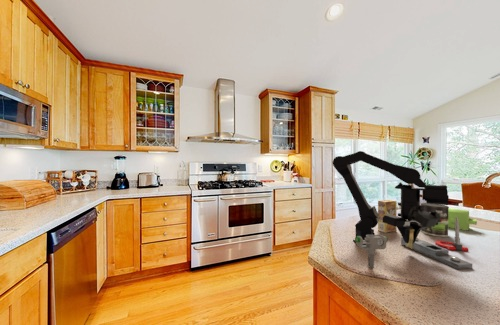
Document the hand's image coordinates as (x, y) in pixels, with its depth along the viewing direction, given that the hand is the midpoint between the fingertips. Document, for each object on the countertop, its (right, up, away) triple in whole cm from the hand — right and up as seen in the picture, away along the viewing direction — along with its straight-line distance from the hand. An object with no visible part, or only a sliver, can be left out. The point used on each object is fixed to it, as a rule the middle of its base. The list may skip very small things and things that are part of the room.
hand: (409, 242), depth 77 cm
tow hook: (+23, -5, +8) cm, 25 cm away
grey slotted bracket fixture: (+8, -4, -1) cm, 9 cm away
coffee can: (+31, -5, +24) cm, 40 cm away
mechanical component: (-21, -4, -10) cm, 24 cm away
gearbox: (+52, -6, +36) cm, 63 cm away
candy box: (+10, -5, +27) cm, 29 cm away
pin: (0, -2, 0) cm, 2 cm away
